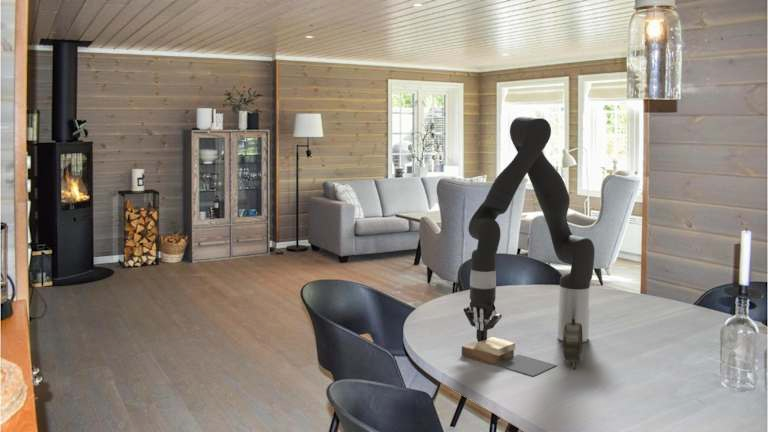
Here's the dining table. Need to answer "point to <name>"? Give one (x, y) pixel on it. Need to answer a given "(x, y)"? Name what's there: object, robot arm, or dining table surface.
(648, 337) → the dining table surface
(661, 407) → the dining table surface
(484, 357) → the board
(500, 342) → the coaster
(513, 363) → the mat
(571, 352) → the alarm clock
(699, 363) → the dining table surface
